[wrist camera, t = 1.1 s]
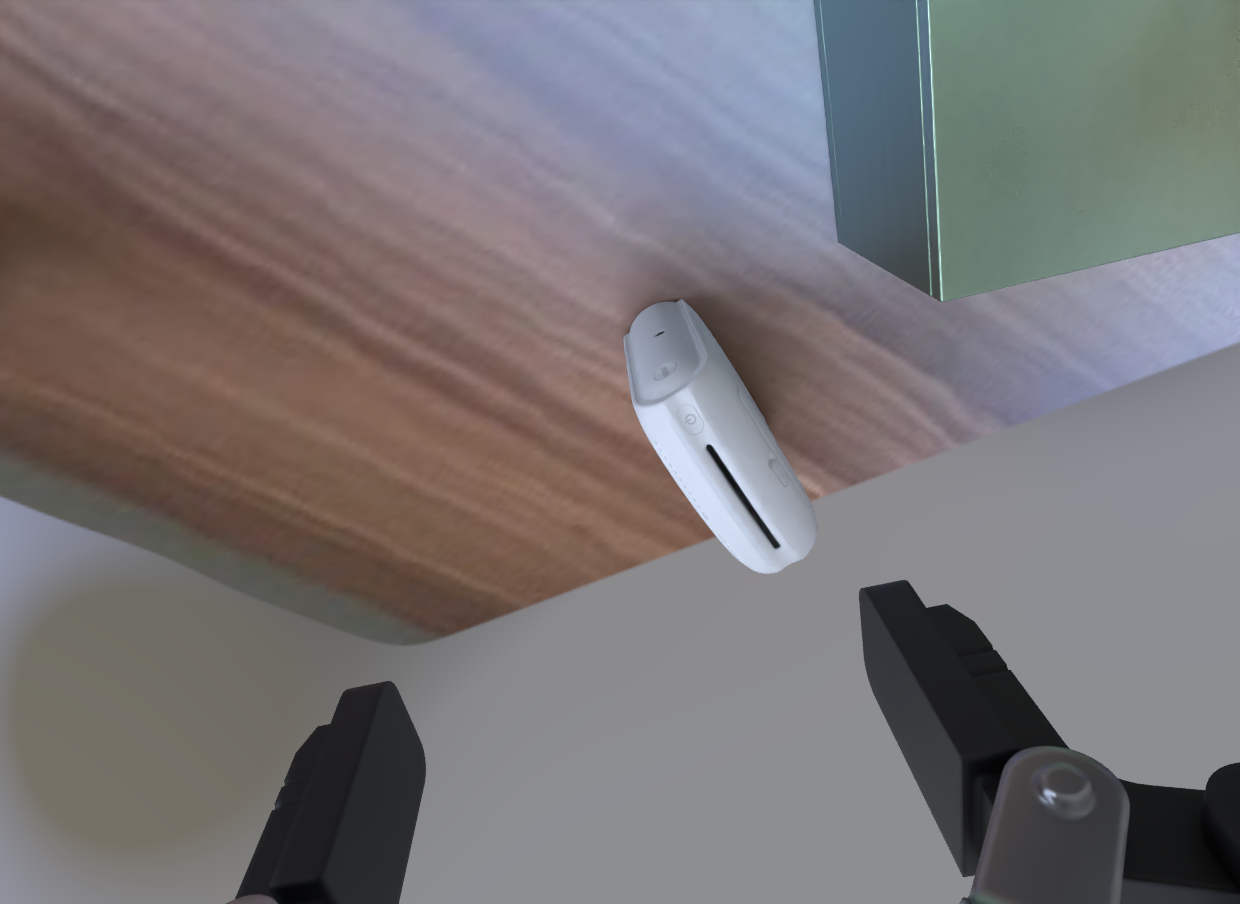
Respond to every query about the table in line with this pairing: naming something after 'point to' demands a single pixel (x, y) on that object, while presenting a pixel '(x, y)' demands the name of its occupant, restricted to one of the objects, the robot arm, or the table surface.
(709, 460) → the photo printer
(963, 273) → the lid
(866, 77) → the box
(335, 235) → the table surface
